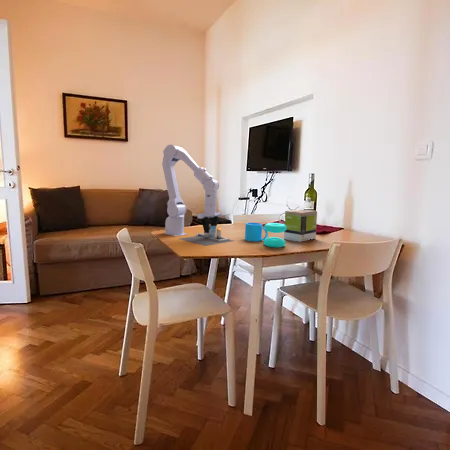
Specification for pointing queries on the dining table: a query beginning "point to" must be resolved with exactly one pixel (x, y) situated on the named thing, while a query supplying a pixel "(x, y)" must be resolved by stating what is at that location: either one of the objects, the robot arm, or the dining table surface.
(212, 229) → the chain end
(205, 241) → the mat
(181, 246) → the dining table surface
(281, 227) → the donuts
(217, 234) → the pin
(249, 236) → the mug
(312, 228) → the tea box
